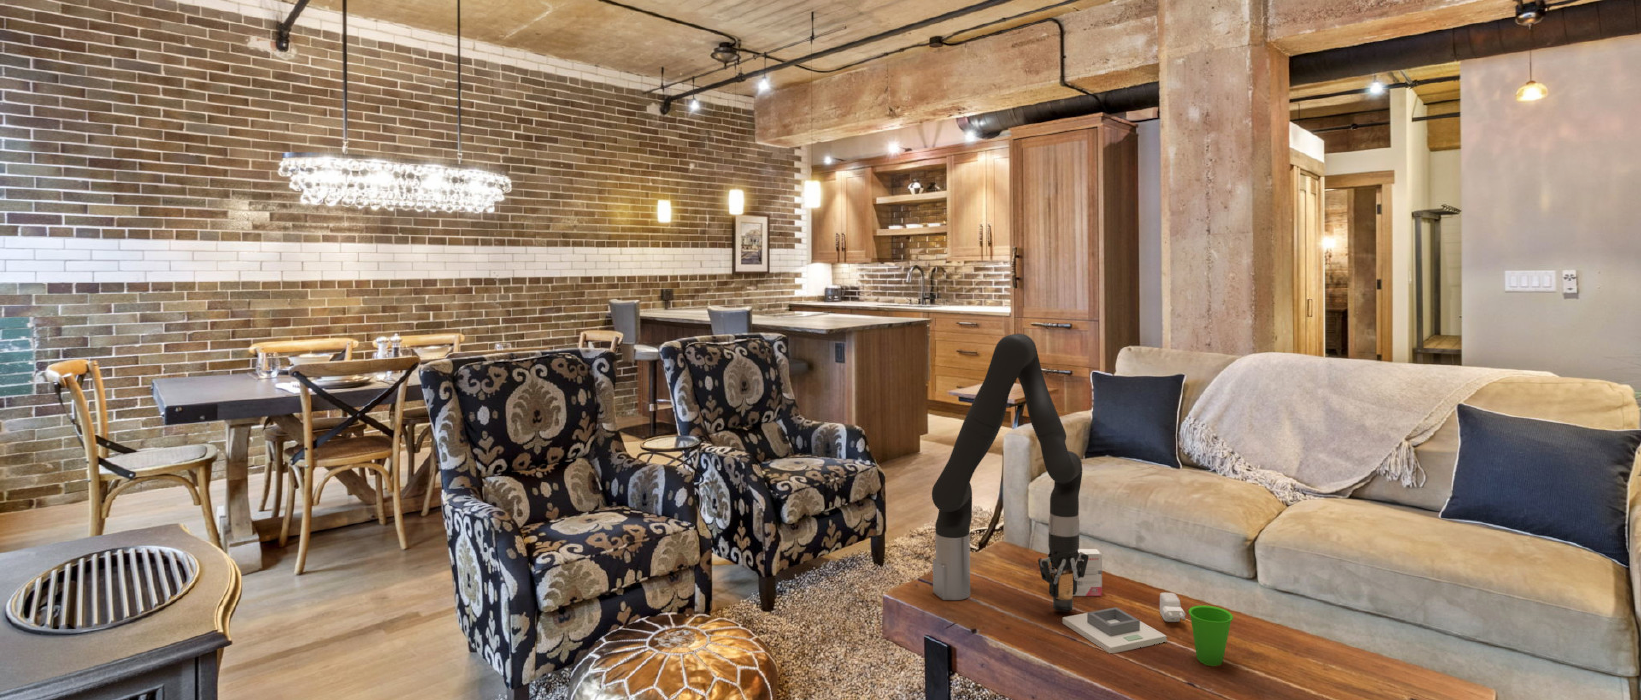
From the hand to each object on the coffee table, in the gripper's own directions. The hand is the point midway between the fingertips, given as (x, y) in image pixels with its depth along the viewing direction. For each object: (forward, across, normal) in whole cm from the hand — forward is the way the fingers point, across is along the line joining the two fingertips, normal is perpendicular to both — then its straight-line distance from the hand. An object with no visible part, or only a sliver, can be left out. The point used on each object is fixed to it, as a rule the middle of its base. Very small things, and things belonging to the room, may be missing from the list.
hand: (1062, 595), depth 212 cm
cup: (+5, -14, +34) cm, 37 cm away
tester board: (+5, -4, +14) cm, 16 cm away
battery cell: (+3, 0, 0) cm, 3 cm away
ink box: (+5, -13, -9) cm, 17 cm away
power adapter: (+5, -21, +15) cm, 27 cm away
